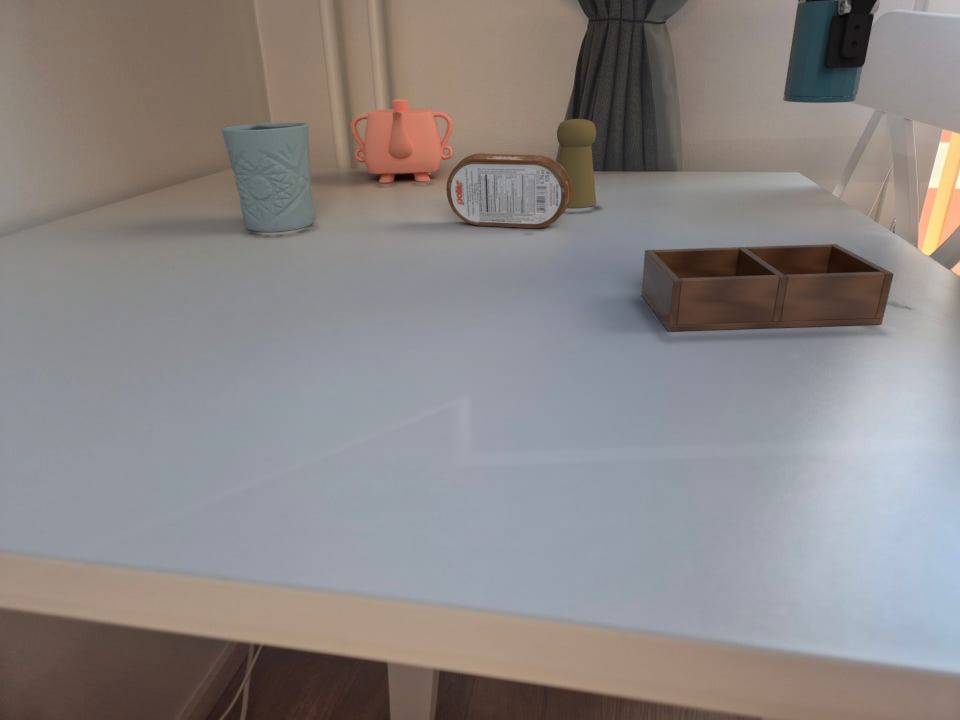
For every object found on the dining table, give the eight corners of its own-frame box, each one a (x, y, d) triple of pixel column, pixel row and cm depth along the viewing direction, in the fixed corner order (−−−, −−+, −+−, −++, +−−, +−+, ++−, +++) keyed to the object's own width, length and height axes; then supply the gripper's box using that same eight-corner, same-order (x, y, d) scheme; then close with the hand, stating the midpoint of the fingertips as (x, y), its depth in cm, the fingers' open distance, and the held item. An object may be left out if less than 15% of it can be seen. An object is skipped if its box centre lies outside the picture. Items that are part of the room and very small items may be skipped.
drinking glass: (257, 237, 80) (240, 131, 75) (226, 223, 88) (208, 126, 83) (334, 223, 86) (322, 124, 81) (298, 211, 93) (286, 119, 88)
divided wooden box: (827, 289, 59) (836, 243, 57) (881, 324, 51) (894, 273, 49) (641, 295, 58) (644, 249, 57) (668, 331, 51) (673, 280, 49)
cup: (835, 97, 65) (852, 3, 61) (868, 101, 59) (889, -2, 56) (772, 99, 65) (786, 4, 61) (799, 103, 59) (816, 0, 56)
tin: (570, 225, 82) (573, 153, 79) (566, 231, 79) (568, 157, 76) (452, 220, 86) (450, 152, 83) (445, 226, 83) (441, 155, 80)
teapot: (409, 167, 127) (404, 95, 121) (470, 176, 116) (468, 97, 111) (342, 178, 117) (333, 100, 112) (402, 189, 106) (395, 103, 101)
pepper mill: (604, 205, 92) (608, 119, 88) (565, 209, 90) (567, 122, 86) (582, 197, 97) (585, 116, 93) (544, 201, 95) (545, 119, 91)
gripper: (991, -225, 45) (924, 68, 53) (859, -154, 61) (822, 64, 69) (879, -221, 45) (827, 70, 53) (776, -152, 61) (748, 65, 69)
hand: (825, 64), depth 61 cm, fingers closed on cup, 6 cm apart
